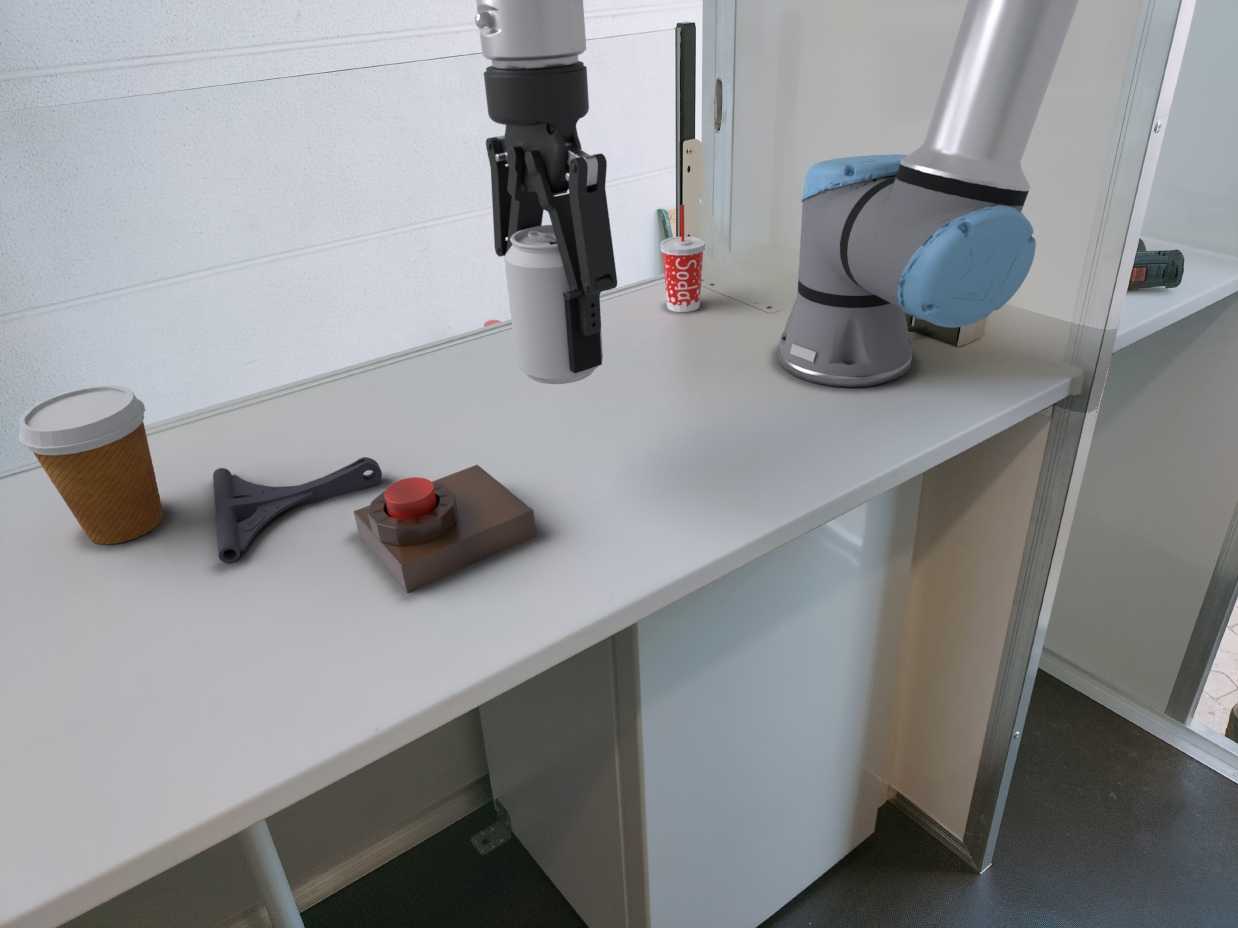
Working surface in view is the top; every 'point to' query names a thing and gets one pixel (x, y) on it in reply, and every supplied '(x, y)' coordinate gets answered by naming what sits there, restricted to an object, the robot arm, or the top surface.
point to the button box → (447, 528)
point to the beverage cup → (683, 270)
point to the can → (539, 306)
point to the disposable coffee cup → (97, 459)
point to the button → (410, 498)
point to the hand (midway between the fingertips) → (559, 352)
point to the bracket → (275, 501)
